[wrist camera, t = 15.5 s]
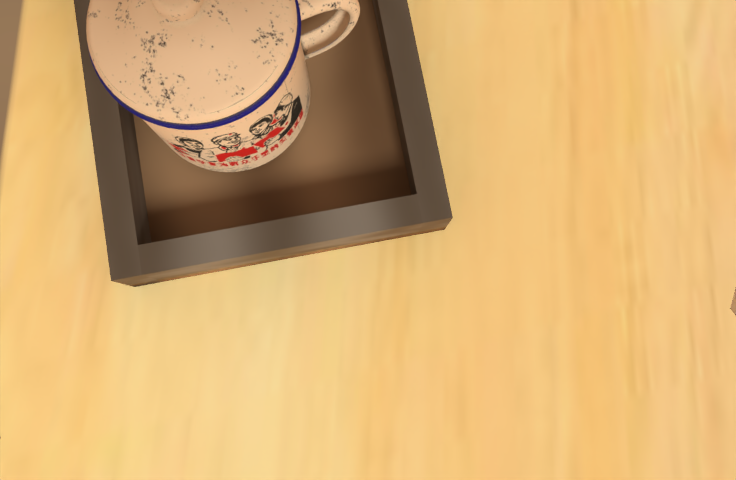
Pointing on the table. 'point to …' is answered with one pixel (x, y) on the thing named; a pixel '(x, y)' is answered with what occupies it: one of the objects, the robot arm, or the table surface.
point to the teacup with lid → (214, 70)
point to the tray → (279, 166)
